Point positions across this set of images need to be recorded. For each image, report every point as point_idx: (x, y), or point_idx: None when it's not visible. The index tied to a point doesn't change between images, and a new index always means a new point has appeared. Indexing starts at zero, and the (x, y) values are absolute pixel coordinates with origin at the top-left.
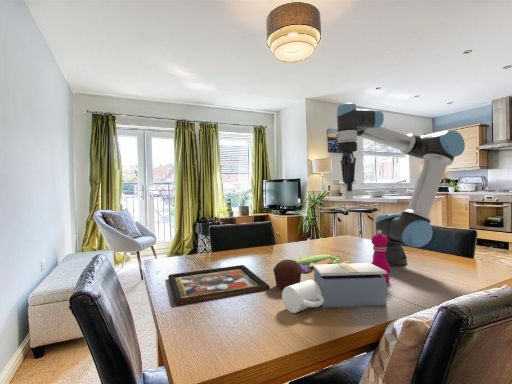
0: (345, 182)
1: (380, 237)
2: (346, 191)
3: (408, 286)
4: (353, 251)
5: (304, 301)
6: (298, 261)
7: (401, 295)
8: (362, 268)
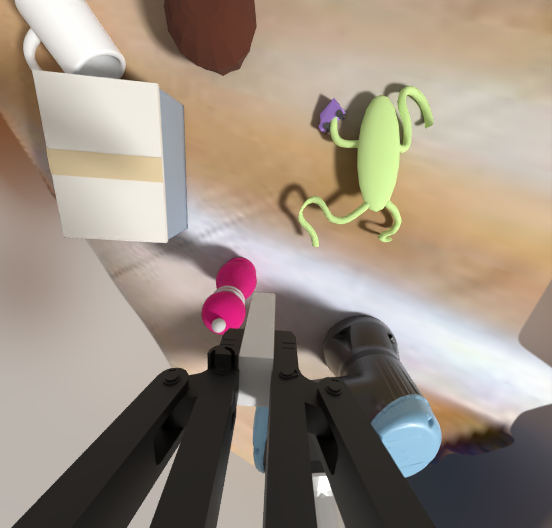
0: (210, 354)
1: (204, 314)
2: (247, 321)
3: (201, 302)
4: (472, 310)
5: (28, 31)
6: (376, 103)
7: (159, 269)
8: (96, 199)
